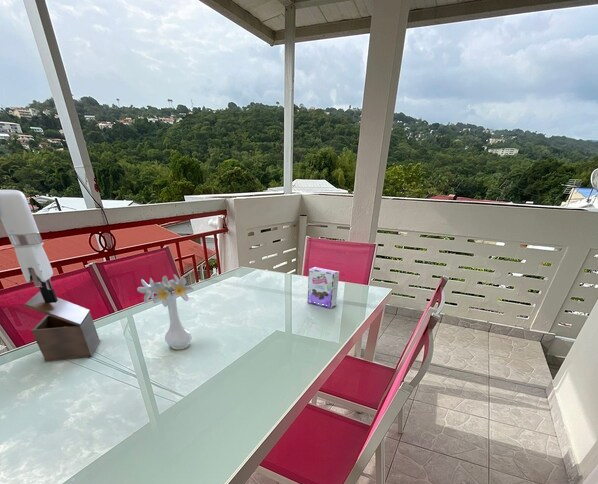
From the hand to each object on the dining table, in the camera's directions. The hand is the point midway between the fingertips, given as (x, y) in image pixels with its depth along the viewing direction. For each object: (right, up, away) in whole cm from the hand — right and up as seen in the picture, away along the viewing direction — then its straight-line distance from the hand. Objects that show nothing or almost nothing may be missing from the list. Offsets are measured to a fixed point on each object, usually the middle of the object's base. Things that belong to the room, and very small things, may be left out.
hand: (51, 301), depth 106 cm
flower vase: (+35, -12, +15) cm, 40 cm away
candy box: (+91, +16, +58) cm, 109 cm away
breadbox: (0, -14, +10) cm, 17 cm away
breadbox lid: (+1, -2, +2) cm, 3 cm away
